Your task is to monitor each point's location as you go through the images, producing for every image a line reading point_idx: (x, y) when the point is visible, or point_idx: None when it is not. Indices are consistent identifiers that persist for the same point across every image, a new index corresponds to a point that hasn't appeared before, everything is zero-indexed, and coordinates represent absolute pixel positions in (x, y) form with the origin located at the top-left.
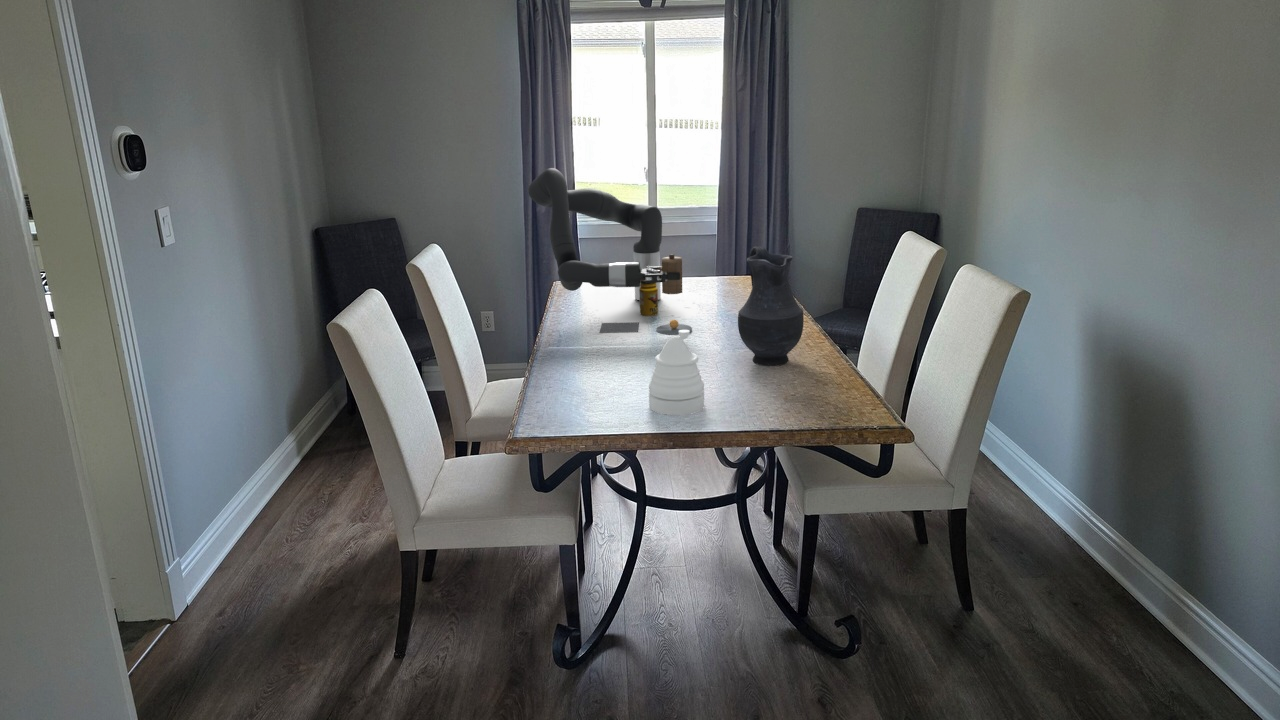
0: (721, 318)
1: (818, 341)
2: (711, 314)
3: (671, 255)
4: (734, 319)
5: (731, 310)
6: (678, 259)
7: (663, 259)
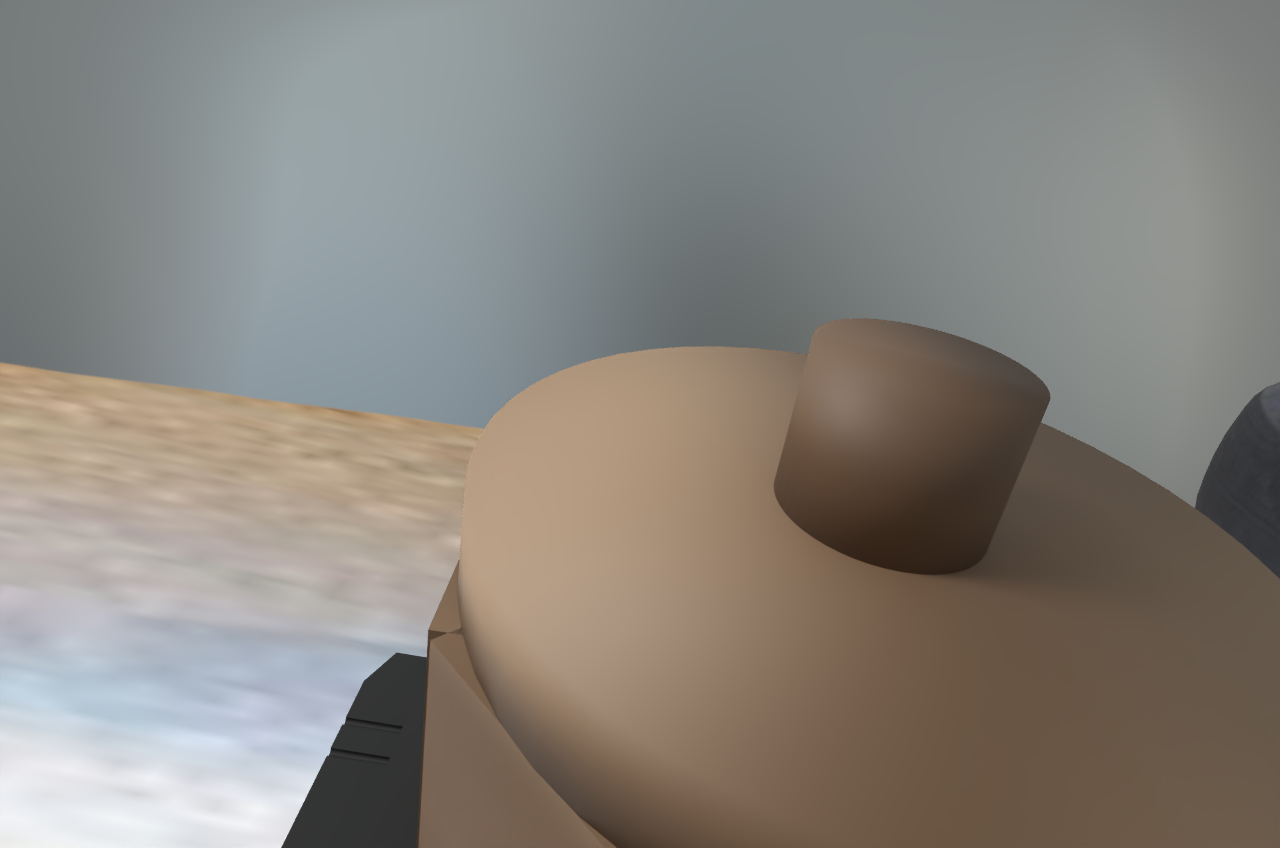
0: (225, 733)
1: None
2: (12, 777)
3: (1034, 407)
4: (315, 662)
5: (16, 615)
6: (1038, 432)
7: (1261, 830)
